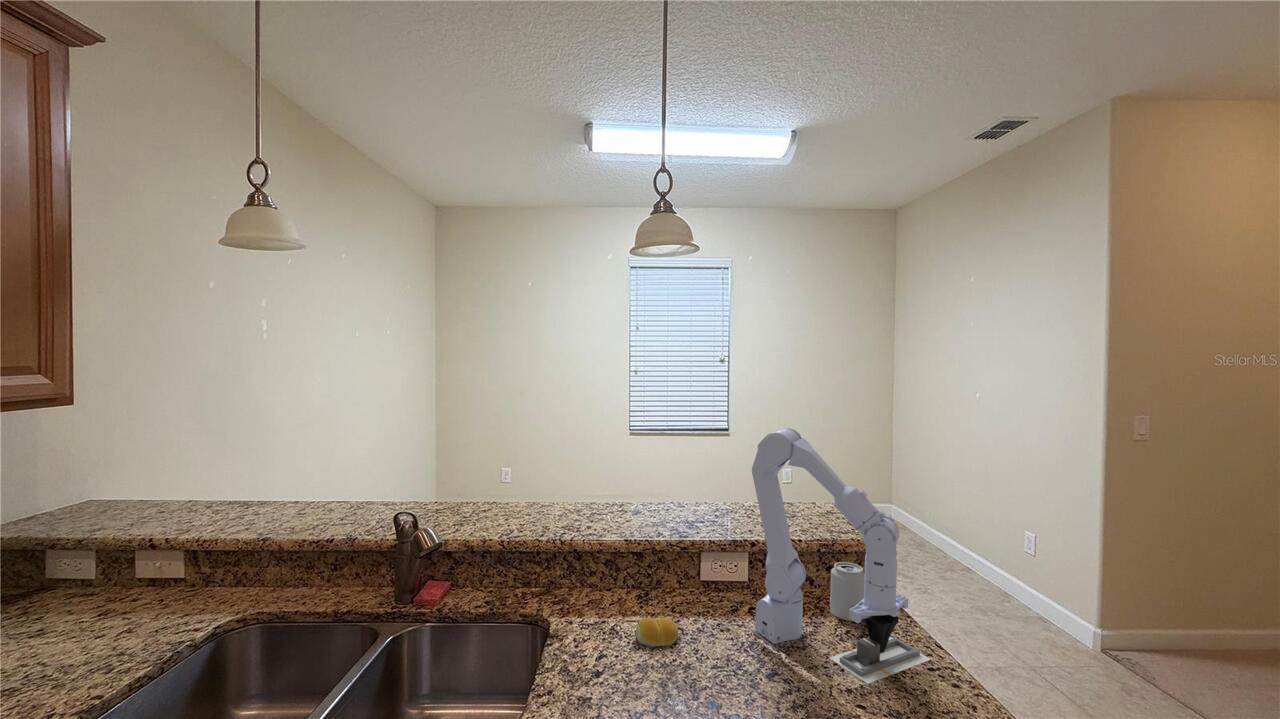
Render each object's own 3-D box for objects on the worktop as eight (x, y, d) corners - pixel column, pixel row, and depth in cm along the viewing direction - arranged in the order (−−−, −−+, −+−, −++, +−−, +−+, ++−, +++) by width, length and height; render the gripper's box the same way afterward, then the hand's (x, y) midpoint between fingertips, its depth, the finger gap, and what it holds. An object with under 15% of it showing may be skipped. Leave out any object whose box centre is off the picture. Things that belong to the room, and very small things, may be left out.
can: (858, 611, 126) (860, 560, 126) (869, 627, 119) (870, 574, 118) (826, 609, 127) (827, 558, 127) (834, 625, 119) (836, 571, 119)
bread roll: (682, 647, 109) (682, 627, 109) (639, 650, 108) (639, 630, 108) (673, 626, 118) (673, 608, 118) (633, 628, 116) (633, 610, 116)
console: (867, 690, 96) (867, 678, 96) (829, 663, 104) (829, 652, 104) (931, 665, 104) (931, 654, 104) (890, 642, 112) (891, 632, 112)
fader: (868, 668, 101) (869, 647, 101) (856, 660, 103) (857, 640, 103) (879, 664, 102) (880, 643, 102) (867, 657, 105) (867, 636, 105)
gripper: (871, 596, 97) (869, 670, 97) (923, 582, 104) (921, 651, 104) (841, 581, 103) (839, 650, 103) (891, 569, 110) (889, 634, 110)
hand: (878, 650), depth 104 cm, fingers closed
